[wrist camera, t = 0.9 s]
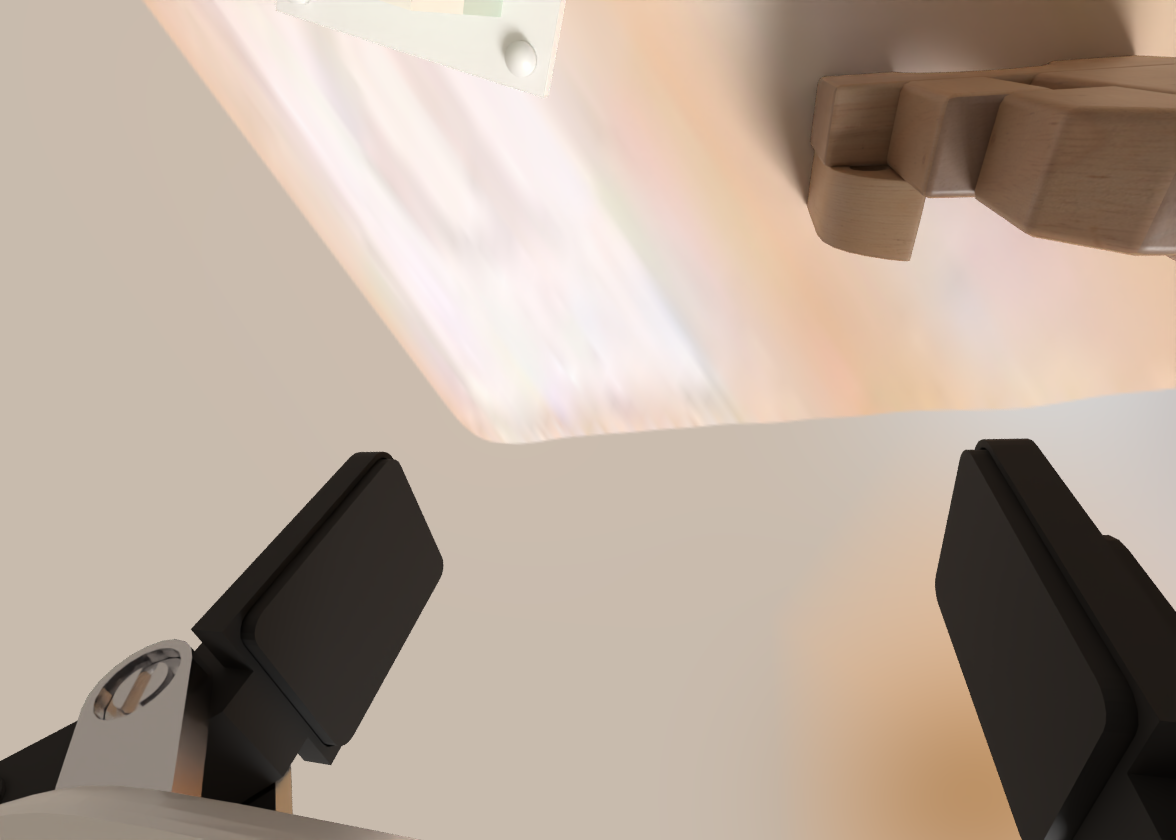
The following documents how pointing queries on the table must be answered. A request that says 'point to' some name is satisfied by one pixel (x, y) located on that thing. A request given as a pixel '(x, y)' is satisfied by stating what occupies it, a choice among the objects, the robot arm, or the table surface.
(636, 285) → the table surface
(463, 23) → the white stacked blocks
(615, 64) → the table surface
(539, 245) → the table surface
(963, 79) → the wooden toy
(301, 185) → the table surface
